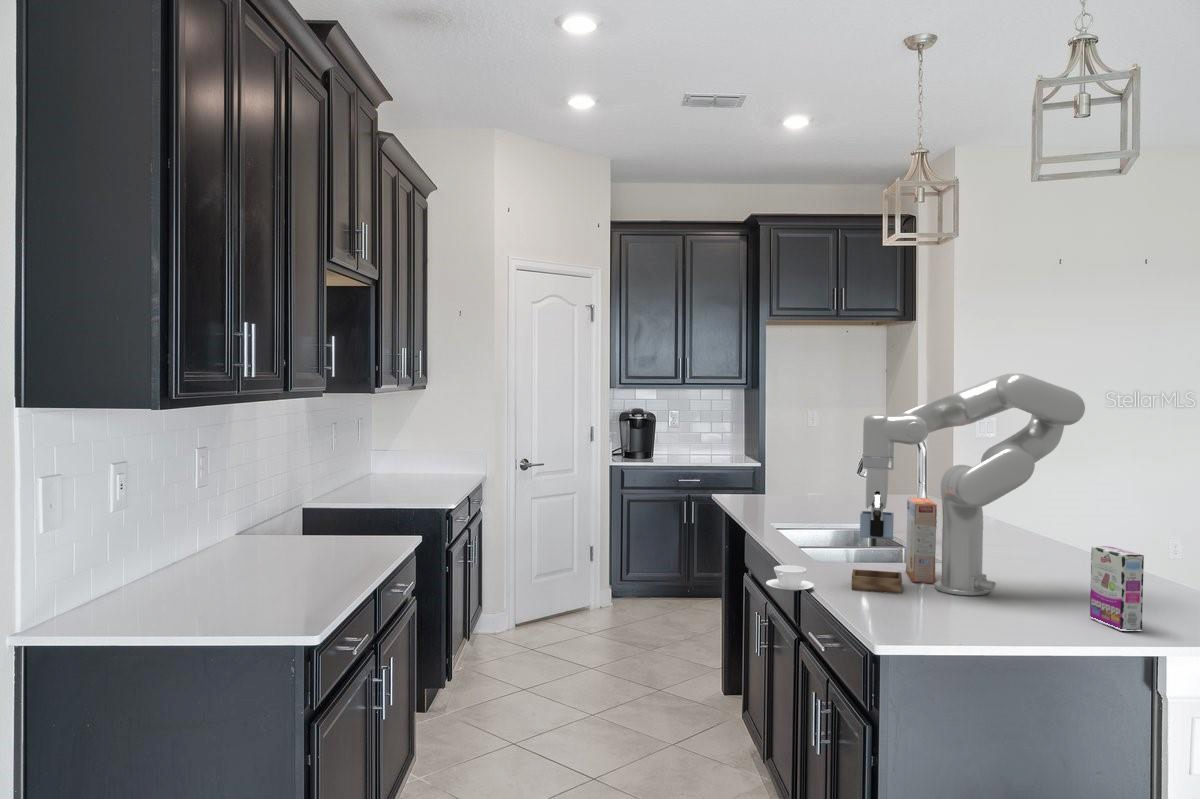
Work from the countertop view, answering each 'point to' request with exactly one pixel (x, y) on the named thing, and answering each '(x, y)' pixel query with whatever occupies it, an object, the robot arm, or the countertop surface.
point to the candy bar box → (1117, 587)
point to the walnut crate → (877, 581)
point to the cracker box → (921, 539)
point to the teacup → (790, 578)
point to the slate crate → (887, 518)
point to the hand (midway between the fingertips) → (876, 533)
